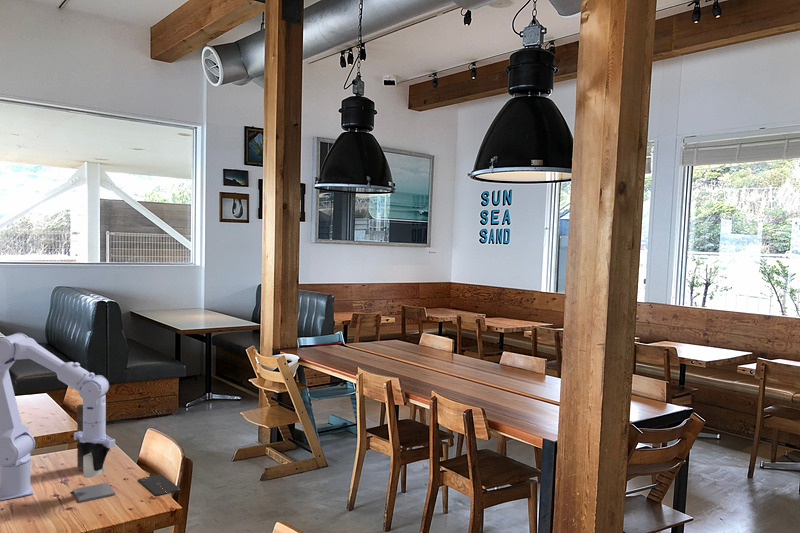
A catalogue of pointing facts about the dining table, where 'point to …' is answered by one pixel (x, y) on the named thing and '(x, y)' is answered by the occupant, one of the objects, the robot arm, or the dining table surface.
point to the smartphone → (158, 485)
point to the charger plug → (90, 467)
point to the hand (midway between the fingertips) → (94, 468)
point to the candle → (79, 428)
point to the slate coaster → (93, 492)
